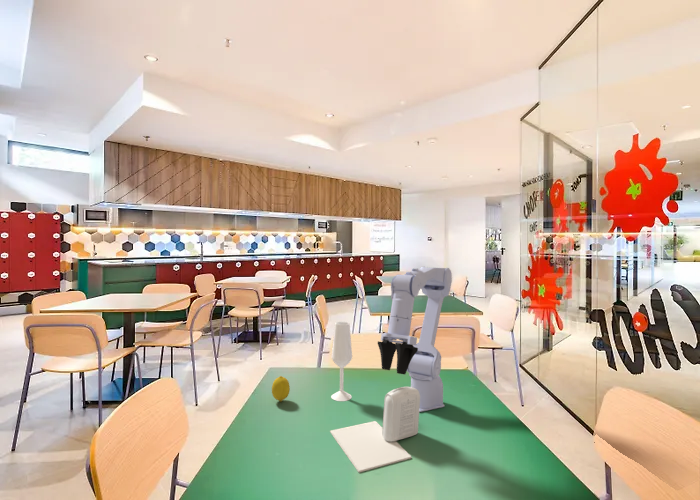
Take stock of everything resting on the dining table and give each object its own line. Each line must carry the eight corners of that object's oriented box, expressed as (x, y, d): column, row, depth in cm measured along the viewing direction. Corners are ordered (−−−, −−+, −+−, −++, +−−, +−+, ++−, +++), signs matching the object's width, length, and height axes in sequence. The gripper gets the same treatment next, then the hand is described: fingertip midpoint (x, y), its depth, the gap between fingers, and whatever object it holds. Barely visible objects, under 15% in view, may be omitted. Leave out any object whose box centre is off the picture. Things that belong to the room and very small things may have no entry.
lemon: (268, 403, 110) (268, 377, 110) (278, 396, 116) (278, 372, 115) (283, 406, 108) (283, 380, 108) (292, 399, 113) (293, 374, 113)
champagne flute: (353, 393, 119) (354, 321, 118) (349, 402, 112) (350, 326, 111) (333, 391, 120) (334, 320, 119) (329, 400, 113) (329, 325, 113)
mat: (375, 422, 99) (375, 420, 99) (411, 458, 83) (411, 456, 83) (330, 432, 94) (330, 430, 94) (358, 472, 78) (358, 470, 78)
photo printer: (409, 427, 97) (411, 381, 97) (420, 434, 93) (423, 387, 93) (379, 436, 91) (382, 388, 91) (390, 444, 88) (393, 394, 88)
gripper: (374, 315, 100) (366, 365, 96) (402, 315, 87) (394, 373, 83) (396, 320, 102) (389, 369, 99) (426, 321, 89) (419, 377, 86)
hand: (393, 371), depth 91 cm, fingers open, 7 cm apart
